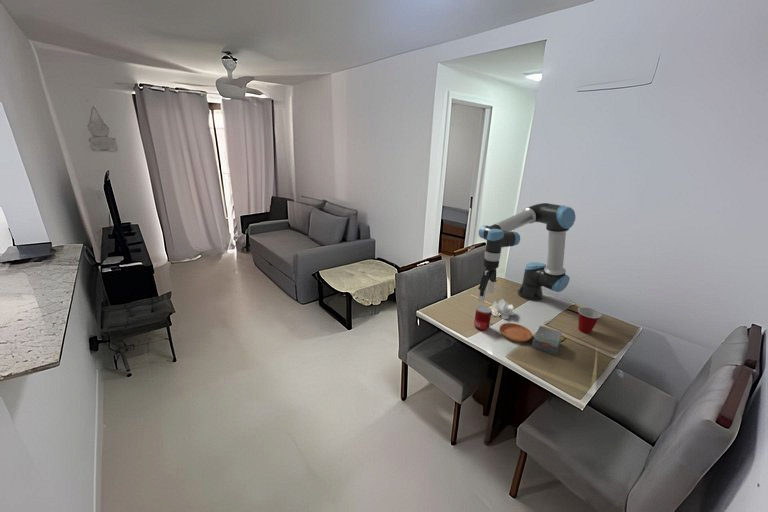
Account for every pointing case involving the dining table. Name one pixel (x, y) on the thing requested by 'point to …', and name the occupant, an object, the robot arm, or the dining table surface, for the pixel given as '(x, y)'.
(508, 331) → the saucer
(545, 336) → the stand
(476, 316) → the canned food
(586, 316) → the plastic cup
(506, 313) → the lotus flower
